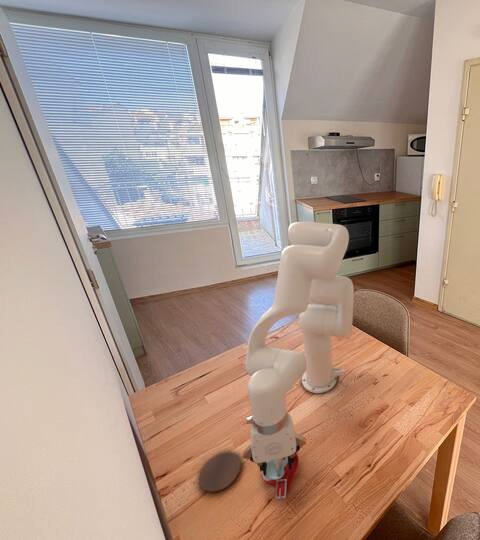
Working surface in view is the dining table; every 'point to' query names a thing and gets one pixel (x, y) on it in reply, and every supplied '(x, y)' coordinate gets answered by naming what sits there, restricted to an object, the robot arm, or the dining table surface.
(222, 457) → the dark brown coaster
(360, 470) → the dining table surface
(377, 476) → the dining table surface
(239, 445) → the dining table surface
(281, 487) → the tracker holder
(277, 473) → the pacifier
